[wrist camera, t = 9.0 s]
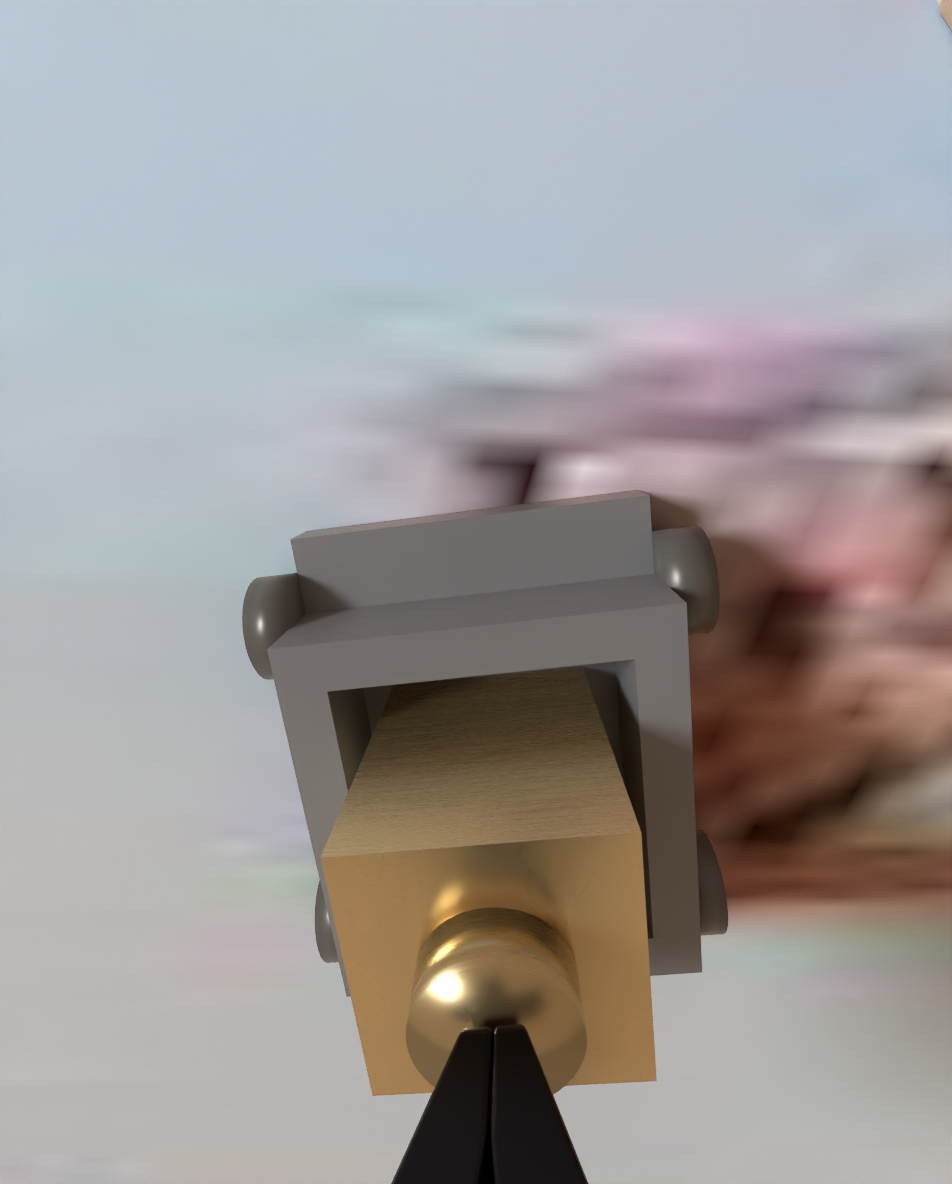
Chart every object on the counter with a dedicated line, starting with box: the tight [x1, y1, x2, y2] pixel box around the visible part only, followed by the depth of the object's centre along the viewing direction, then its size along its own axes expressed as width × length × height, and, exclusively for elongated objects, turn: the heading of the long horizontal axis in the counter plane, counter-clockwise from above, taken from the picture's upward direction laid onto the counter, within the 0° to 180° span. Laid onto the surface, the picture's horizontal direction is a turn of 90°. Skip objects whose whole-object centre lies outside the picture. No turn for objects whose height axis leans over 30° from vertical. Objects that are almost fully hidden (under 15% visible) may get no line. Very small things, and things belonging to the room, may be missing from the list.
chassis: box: [242, 490, 728, 997], centre depth 14 cm, size 12×10×4 cm
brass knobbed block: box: [321, 667, 656, 1096], centre depth 11 cm, size 4×4×7 cm
